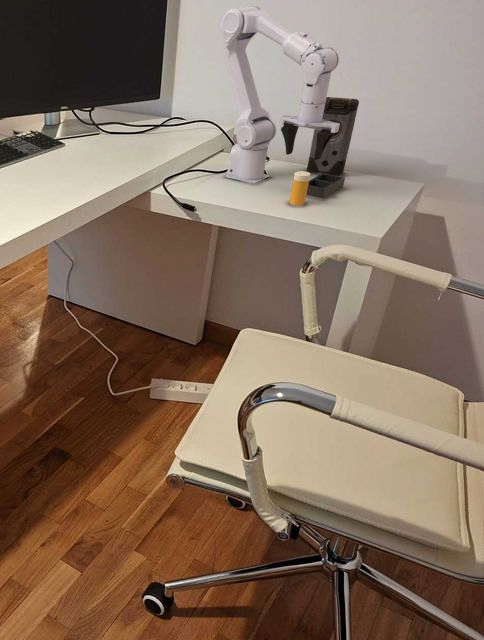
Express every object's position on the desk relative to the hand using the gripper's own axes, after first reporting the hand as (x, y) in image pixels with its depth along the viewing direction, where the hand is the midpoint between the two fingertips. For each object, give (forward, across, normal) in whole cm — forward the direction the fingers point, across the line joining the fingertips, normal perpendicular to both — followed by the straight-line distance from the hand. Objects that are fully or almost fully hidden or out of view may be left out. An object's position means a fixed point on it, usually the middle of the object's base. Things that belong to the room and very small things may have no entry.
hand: (302, 156), depth 172 cm
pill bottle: (+9, +5, -8) cm, 13 cm away
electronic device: (+10, -1, +18) cm, 21 cm away
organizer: (+9, +5, +4) cm, 11 cm away
